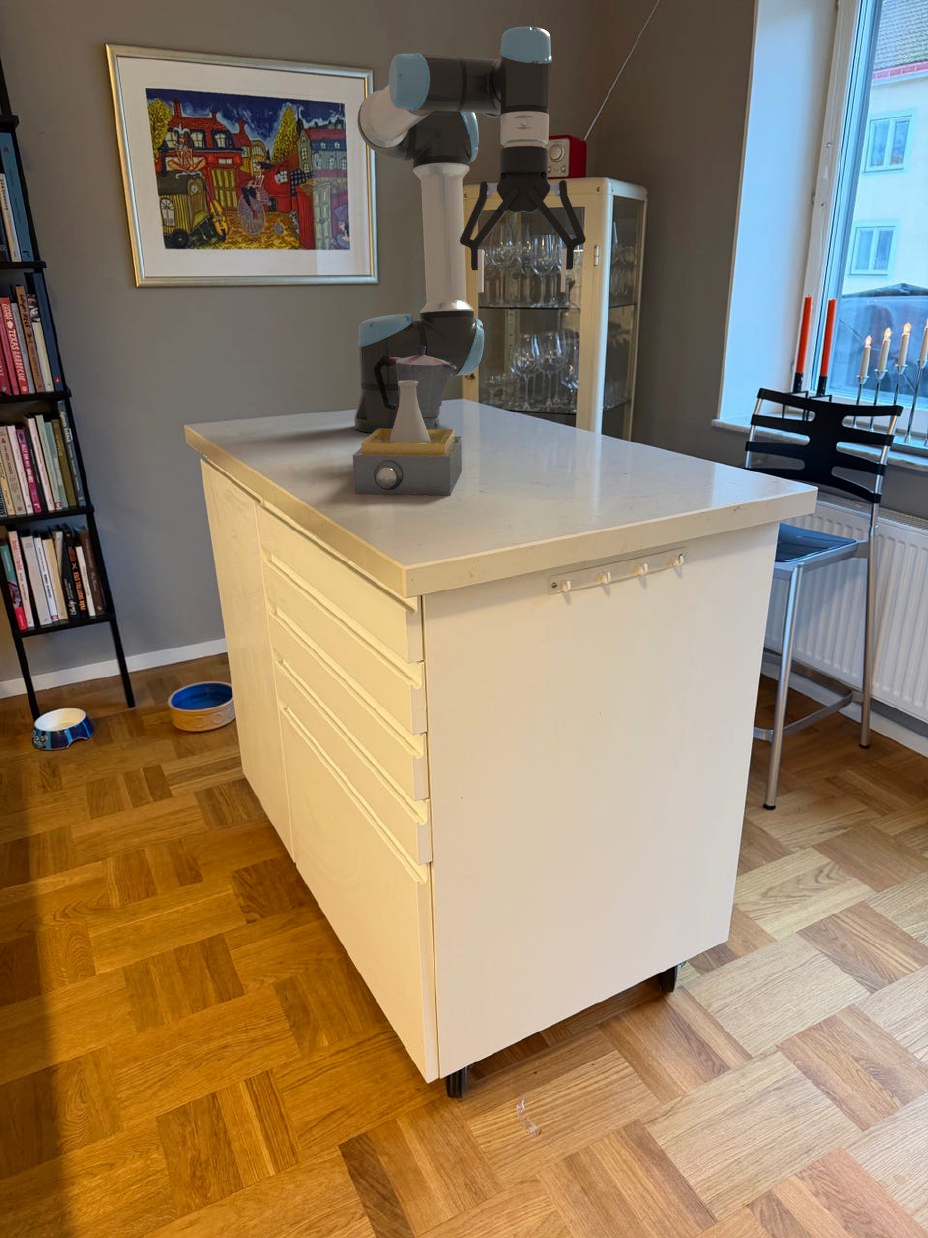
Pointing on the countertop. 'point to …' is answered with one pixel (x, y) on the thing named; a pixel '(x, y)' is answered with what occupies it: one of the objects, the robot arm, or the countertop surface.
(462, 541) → the countertop surface
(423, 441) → the flask
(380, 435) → the plate
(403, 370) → the moka pot
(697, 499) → the countertop surface
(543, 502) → the countertop surface
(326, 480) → the countertop surface
